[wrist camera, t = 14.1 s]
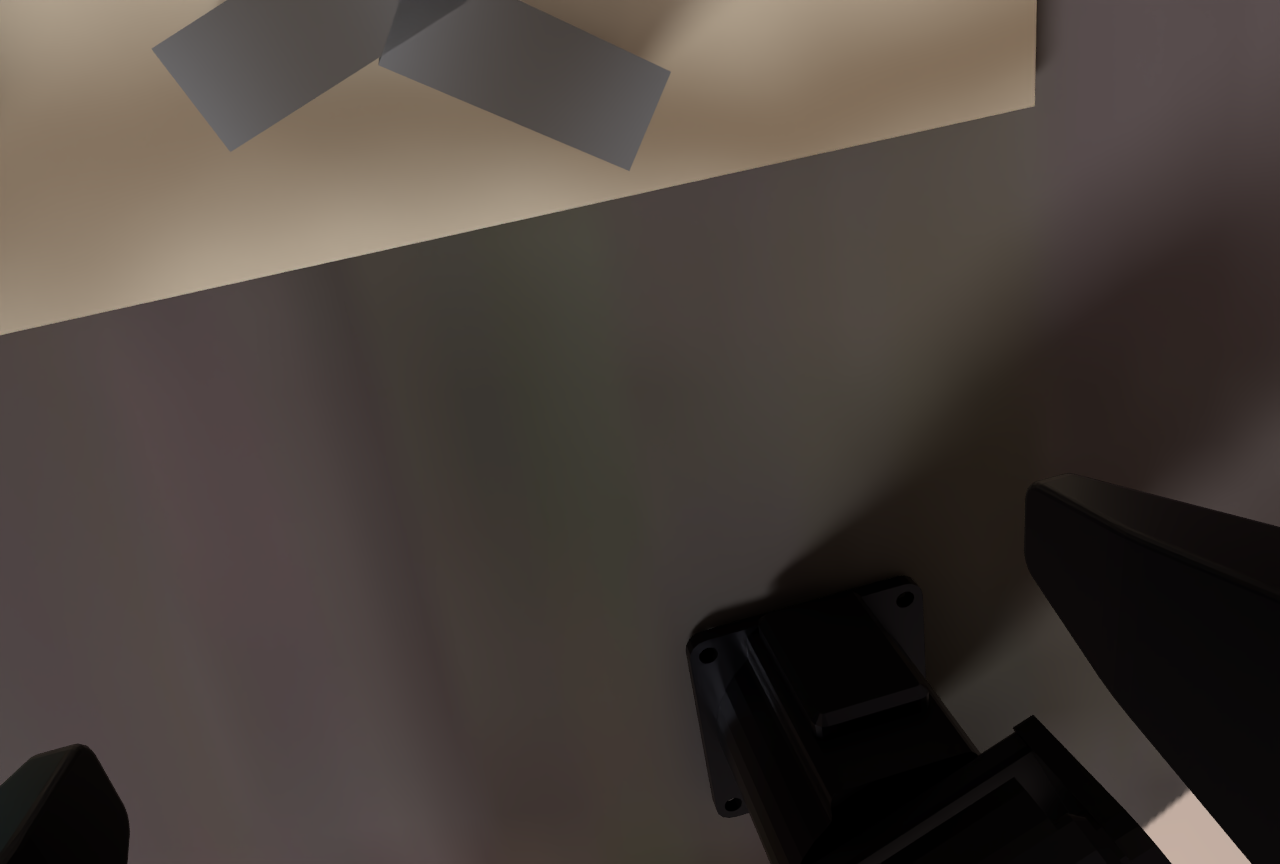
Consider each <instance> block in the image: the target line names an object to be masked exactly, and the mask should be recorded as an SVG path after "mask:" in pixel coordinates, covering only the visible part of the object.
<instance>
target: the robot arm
mask: <svg viewBox="0 0 1280 864" xmlns="http://www.w3.org/2000/svg"><path fill="white" fill-rule="evenodd" d="M1024 553H1025V560H1026V563H1027V566H1028V569H1029V571H1030V573H1031V575H1032V577H1033V579H1034V580H1035V582H1036V583H1037V585H1038V586H1039V588H1040V589H1041V591H1042V592H1043V594H1044V595H1045V597H1046V598H1047V600H1048V601H1049V603H1050V604H1051V606H1052V607H1053V609H1054V610H1055V612H1056V613H1057V615H1058V616H1059V618H1060V619H1061V621H1062V622H1063V624H1064V625H1065V627H1066V628H1067V630H1068V631H1069V633H1070V634H1071V636H1072V637H1073V639H1074V640H1075V642H1076V643H1077V645H1078V646H1079V648H1080V649H1081V651H1082V652H1083V654H1084V655H1085V657H1086V658H1087V660H1088V661H1089V663H1090V664H1091V666H1092V667H1093V669H1094V670H1095V672H1096V673H1097V675H1098V676H1099V678H1100V679H1101V680H1102V682H1103V683H1104V685H1105V686H1106V687H1107V689H1108V690H1109V692H1110V693H1111V694H1112V696H1113V697H1114V698H1115V700H1116V701H1117V702H1118V703H1119V705H1120V706H1121V707H1122V708H1123V710H1124V711H1125V712H1126V713H1127V715H1128V716H1129V717H1130V718H1131V720H1132V721H1133V722H1134V723H1135V724H1136V726H1137V727H1138V728H1139V729H1140V730H1141V732H1142V733H1143V734H1144V735H1145V736H1146V738H1147V739H1148V740H1149V741H1150V742H1151V744H1152V745H1153V746H1154V747H1155V748H1156V750H1157V751H1158V752H1159V753H1160V754H1161V756H1162V757H1163V758H1164V759H1165V760H1166V762H1167V763H1168V764H1169V765H1170V766H1171V768H1172V769H1173V770H1174V771H1175V772H1176V774H1177V775H1178V776H1179V777H1180V778H1181V780H1182V781H1183V782H1184V783H1185V784H1186V786H1187V787H1188V788H1189V789H1190V790H1191V792H1192V793H1193V794H1194V795H1195V796H1196V798H1197V799H1198V800H1199V801H1200V802H1201V803H1202V805H1203V806H1204V807H1205V808H1206V810H1207V811H1208V812H1209V813H1210V814H1211V816H1212V817H1213V818H1214V819H1215V820H1216V822H1217V823H1218V824H1219V825H1220V826H1221V828H1222V829H1223V830H1224V831H1225V832H1226V834H1227V835H1228V836H1229V837H1230V838H1231V840H1232V841H1233V842H1234V843H1235V844H1236V846H1237V847H1238V848H1239V849H1240V850H1241V852H1242V853H1243V854H1244V855H1245V856H1246V858H1247V859H1248V860H1249V861H1250V862H1251V864H1280V527H1278V526H1274V525H1270V524H1266V523H1262V522H1259V521H1255V520H1251V519H1247V518H1243V517H1239V516H1235V515H1231V514H1227V513H1224V512H1220V511H1216V510H1212V509H1208V508H1204V507H1200V506H1196V505H1192V504H1188V503H1185V502H1181V501H1177V500H1173V499H1169V498H1165V497H1161V496H1157V495H1153V494H1150V493H1146V492H1142V491H1138V490H1134V489H1130V488H1126V487H1122V486H1118V485H1115V484H1111V483H1107V482H1103V481H1099V480H1095V479H1091V478H1087V477H1083V476H1080V475H1076V474H1062V475H1058V476H1055V477H1051V478H1047V479H1044V480H1040V481H1036V482H1034V483H1033V484H1032V485H1030V486H1029V488H1028V490H1027V492H1026V498H1025V536H1024ZM904 592H906V594H905V595H904V596H903V597H902V598H900V599H897V598H898V596H899V595H900V594H902V593H904ZM706 648H712V650H711V651H710V652H708V653H706V654H700V653H701V652H702V650H704V649H706ZM686 655H687V660H688V666H689V671H690V677H691V683H692V688H693V694H694V699H695V705H696V710H697V716H698V721H699V727H700V732H701V738H702V743H703V749H704V754H705V760H706V766H707V771H708V777H709V782H710V788H711V793H712V799H713V802H714V804H715V807H716V809H717V812H718V814H719V815H721V816H722V817H727V818H731V817H737V816H740V815H743V814H746V813H749V814H750V816H751V818H752V821H753V823H754V826H755V828H756V830H757V833H758V835H759V838H760V840H761V842H762V845H763V847H764V849H765V852H766V854H767V857H768V859H769V861H770V864H1171V862H1170V861H1169V860H1168V859H1167V858H1166V856H1165V855H1164V854H1163V853H1162V851H1161V850H1160V849H1159V848H1158V847H1157V845H1156V844H1155V843H1154V842H1153V841H1152V839H1151V838H1150V837H1149V836H1148V835H1147V834H1146V832H1145V831H1144V830H1143V829H1142V828H1141V827H1140V826H1139V824H1138V823H1137V822H1136V821H1135V820H1134V819H1133V818H1132V817H1131V816H1130V815H1129V814H1128V812H1127V811H1126V810H1125V809H1124V808H1123V807H1122V806H1121V805H1120V804H1119V803H1118V802H1117V801H1116V800H1115V799H1114V798H1113V797H1112V796H1111V795H1110V794H1109V793H1108V792H1107V791H1106V790H1105V789H1104V788H1103V786H1102V785H1101V784H1100V783H1099V782H1098V781H1097V780H1096V779H1095V778H1094V777H1093V776H1092V775H1091V774H1090V773H1089V772H1088V771H1087V770H1086V769H1085V768H1084V767H1083V766H1082V765H1081V764H1080V763H1079V762H1078V761H1077V760H1076V759H1075V758H1074V756H1073V755H1072V754H1071V753H1070V752H1069V751H1068V750H1067V749H1066V748H1065V747H1064V746H1063V745H1062V744H1061V743H1060V742H1059V741H1058V740H1057V739H1056V738H1055V737H1054V736H1053V735H1052V734H1051V733H1050V732H1049V731H1048V730H1047V729H1046V727H1045V726H1044V725H1043V724H1042V723H1041V722H1040V721H1039V720H1038V719H1037V718H1036V717H1035V716H1034V715H1032V716H1030V717H1029V718H1027V719H1026V720H1024V721H1023V722H1021V723H1019V724H1018V725H1016V726H1015V727H1013V729H1014V731H1015V732H1014V733H1012V734H1011V735H1009V736H1008V737H1006V738H1005V739H1003V740H1002V741H1000V742H998V743H997V744H995V745H994V746H992V747H991V748H989V749H988V750H986V751H985V752H983V753H982V754H981V753H980V752H979V751H978V749H977V748H976V747H975V745H974V744H973V743H972V741H971V740H970V738H969V737H968V736H967V734H966V733H965V732H964V730H963V729H962V728H961V726H960V725H959V724H958V722H957V721H956V720H955V718H954V717H953V716H952V714H951V713H950V712H949V710H948V709H947V707H946V706H945V705H944V703H943V702H942V701H941V699H940V698H939V697H938V695H937V694H936V693H935V691H934V690H933V689H932V687H931V686H930V685H929V683H928V682H927V680H926V672H925V646H924V620H923V595H922V591H921V589H920V588H919V586H918V585H917V584H916V583H915V582H914V581H913V580H912V579H911V578H910V577H908V576H897V577H893V578H890V579H886V580H883V581H879V582H875V583H872V584H868V585H865V586H861V587H858V588H854V589H851V590H847V591H843V592H840V593H836V594H833V595H829V596H826V597H822V598H819V599H815V600H811V601H808V602H804V603H801V604H797V605H794V606H790V607H787V608H783V609H779V610H776V611H772V612H769V613H765V614H762V615H758V616H755V617H751V618H747V619H744V620H740V621H737V622H733V623H730V624H726V625H723V626H719V627H715V628H712V629H708V630H705V631H701V632H699V633H697V634H695V635H694V636H693V637H691V638H690V639H689V641H688V643H687V645H686ZM732 798H734V799H732ZM730 799H732V800H730ZM728 800H730V801H728ZM129 838H130V828H129V820H128V815H127V812H126V809H125V807H124V805H123V803H122V801H121V799H120V797H119V796H118V794H117V792H116V790H115V788H114V787H113V785H112V783H111V781H110V780H109V778H108V776H107V774H106V773H105V771H104V769H103V767H102V766H101V764H100V762H99V760H98V758H97V757H96V755H95V754H94V752H93V751H92V750H91V749H90V748H89V747H88V746H86V745H82V744H73V745H70V746H66V747H62V748H59V749H55V750H51V751H48V752H44V753H40V754H37V755H35V756H33V757H31V758H30V759H29V760H28V761H27V762H25V763H24V764H23V765H22V766H21V767H20V768H19V769H18V770H17V771H16V772H15V773H14V774H13V775H11V776H10V777H9V778H8V779H7V780H6V781H5V782H4V783H3V784H2V785H1V786H0V864H127V862H128V850H129Z"/></svg>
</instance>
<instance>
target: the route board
mask: <svg viewBox="0 0 1280 864" xmlns="http://www.w3.org/2000/svg"><path fill="white" fill-rule="evenodd" d="M1036 11H1037V0H0V335H3V334H7V333H12V332H16V331H21V330H25V329H30V328H34V327H39V326H43V325H48V324H52V323H57V322H61V321H66V320H70V319H75V318H79V317H84V316H88V315H93V314H97V313H102V312H106V311H111V310H116V309H120V308H125V307H129V306H134V305H138V304H143V303H147V302H152V301H156V300H161V299H165V298H170V297H174V296H179V295H183V294H188V293H192V292H197V291H201V290H206V289H210V288H215V287H219V286H224V285H228V284H233V283H238V282H242V281H247V280H251V279H256V278H260V277H265V276H269V275H274V274H278V273H283V272H287V271H292V270H296V269H301V268H305V267H310V266H314V265H319V264H323V263H328V262H332V261H337V260H341V259H346V258H350V257H355V256H360V255H364V254H369V253H373V252H378V251H382V250H387V249H391V248H396V247H400V246H405V245H409V244H414V243H418V242H423V241H427V240H432V239H436V238H441V237H445V236H450V235H454V234H459V233H463V232H468V231H472V230H477V229H482V228H486V227H491V226H495V225H500V224H504V223H509V222H513V221H518V220H522V219H527V218H531V217H536V216H540V215H545V214H549V213H554V212H558V211H563V210H567V209H572V208H576V207H581V206H585V205H590V204H594V203H599V202H604V201H608V200H613V199H617V198H622V197H626V196H631V195H635V194H640V193H644V192H649V191H653V190H658V189H662V188H667V187H671V186H676V185H680V184H685V183H689V182H694V181H698V180H703V179H707V178H712V177H716V176H721V175H725V174H730V173H735V172H739V171H744V170H748V169H753V168H757V167H762V166H766V165H771V164H775V163H780V162H784V161H789V160H793V159H798V158H802V157H807V156H811V155H816V154H820V153H825V152H829V151H834V150H838V149H843V148H847V147H852V146H857V145H861V144H866V143H870V142H875V141H879V140H884V139H888V138H893V137H897V136H902V135H906V134H911V133H915V132H920V131H924V130H929V129H933V128H938V127H942V126H947V125H951V124H956V123H960V122H965V121H969V120H974V119H979V118H983V117H988V116H992V115H997V114H1001V113H1006V112H1010V111H1015V110H1019V109H1024V108H1028V107H1033V106H1035V60H1036Z"/></svg>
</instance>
